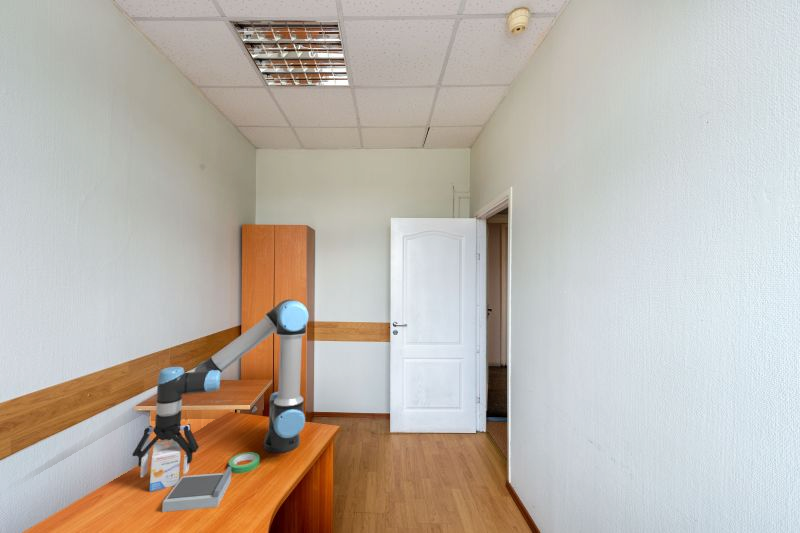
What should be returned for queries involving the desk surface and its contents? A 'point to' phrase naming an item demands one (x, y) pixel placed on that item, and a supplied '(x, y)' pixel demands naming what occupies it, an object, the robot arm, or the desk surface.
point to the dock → (197, 492)
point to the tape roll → (247, 467)
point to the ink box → (165, 465)
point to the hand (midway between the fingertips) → (165, 473)
